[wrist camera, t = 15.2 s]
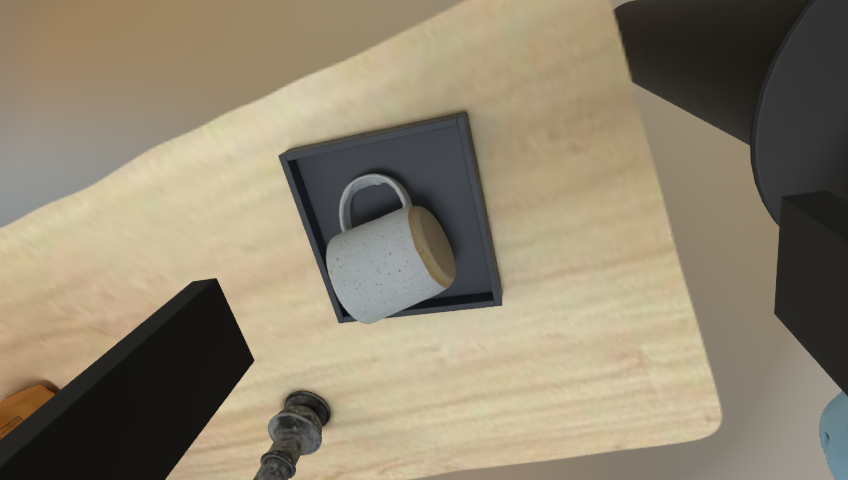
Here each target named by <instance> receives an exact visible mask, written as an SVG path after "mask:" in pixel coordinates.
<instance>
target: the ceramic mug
mask: <svg viewBox="0 0 848 480" xmlns="http://www.w3.org/2000/svg"><path fill="white" fill-rule="evenodd" d="M385 182H386V183H388V184H389V185H390V186H392V187H393V188H394V189H395V191H396V192H397V194H398V195H399V197H400V200H401V202H402V203H403V208H401V209H398V210H396V211H394V212H392V213H389V214H387V215H384V216H382V217H380V218H378V219H376V220H373V221H370V222H367V223H365V224H362V225H359V226H358V227H355V228H352V225H351V219H350V204H351V200H352V197H353V195H354V194H355V193H356V192H357V191H358V190H359V189H362V188H365V187H367V186H370V185H374V184H376V185H380V184H382V183H385ZM339 217H340V225H341V230H342V232H341V233H340V234H338V235H336V236H335V237H333V238H332V239H331V240H330V242H329V244H328V247H327V254H326V260H327V269H328V274H329V277H330V280H331V283H332V286H333V289H334V291H335V293H336V295H337V297H338V299H339V301H340V302H341V304H342V305H343V307H344V308H345V309H346V310H347V312H348V313H349V314H350V315H351V316H352V317H353V318H355V319H356V320H357V321H359V322H361V323H365V324H370V323H374V322H376V321H379V320H381V319H383V318H385V317H387V316H390V315H392V314H394V313H396V312H399V311H401V310H403V309H405V308H408V307H410V306H412V305H414V304H417V303H419V302H421V301H423V300H426V299H428V298H430V297H433V296H435V295H437V294H439V293H440V292H442V291H443V290H445V289H447V288H448V287H449V286H450V285H451V284H452V283H453V281H454V279H455V275H456V265H455V260H454V256H453V252H452V249H451V246H450V244H449V242H448V239H447V237H446V235H445V233H444V231H443V229H442V227H441V225H440V224H439V222H438V221H437V219H436V218H435V217H434V215H433V214H432V213H431V212H430V211H428V210H427V209H426V208H423V207H421V206H413V205H412V203H411V200H410V197H409V195H408V193H407V192H406V190H405V189H404V188H403V186H402V185H401V184H400V183H399V182H398V181H397V180H395V179H393V178H392V177H389V176H386V175H381V174H368V175H364V176H361V177H359V178H356V179H355V180H354V181H352V182H351V183H349V184H348V186H347V187H346V188H345V190H344V192H343V195H342V197H341V200H340V207H339Z"/></svg>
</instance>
